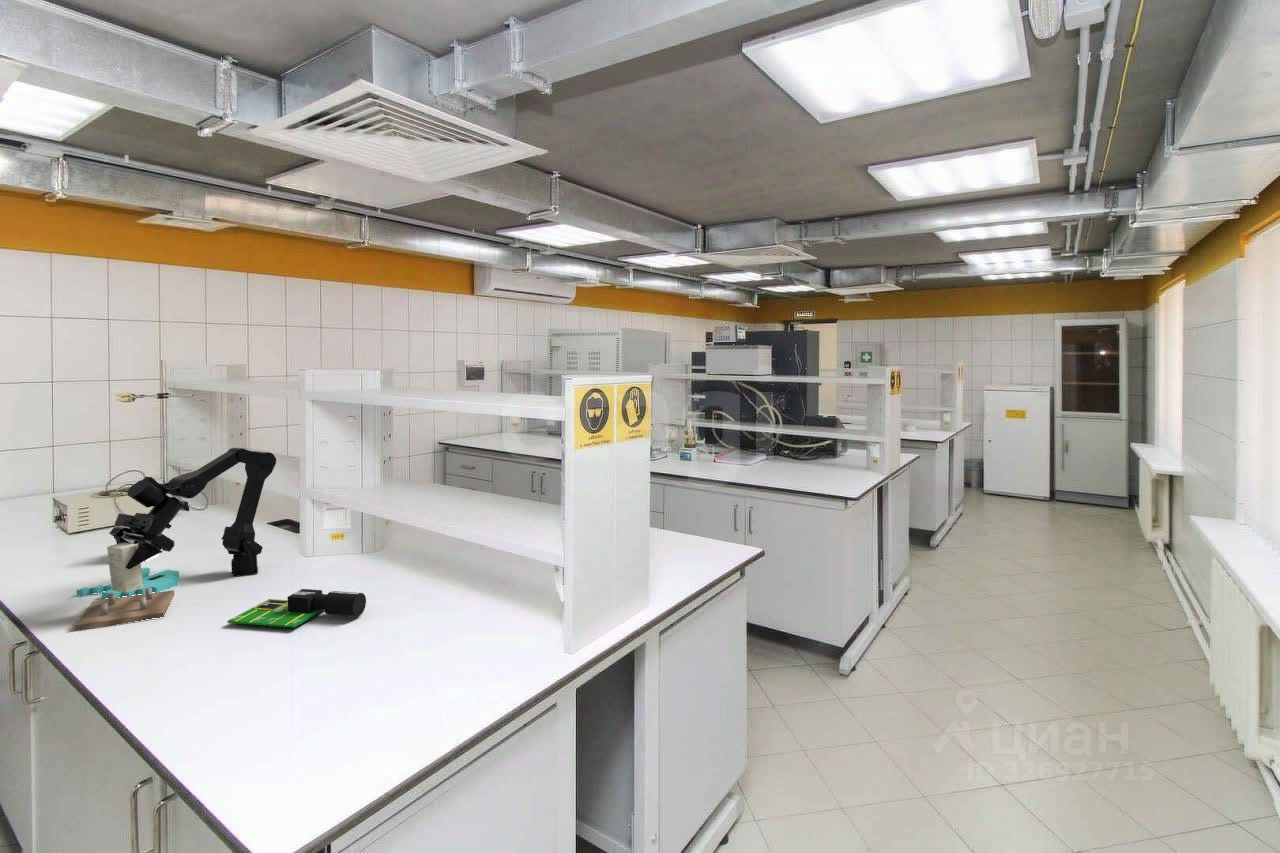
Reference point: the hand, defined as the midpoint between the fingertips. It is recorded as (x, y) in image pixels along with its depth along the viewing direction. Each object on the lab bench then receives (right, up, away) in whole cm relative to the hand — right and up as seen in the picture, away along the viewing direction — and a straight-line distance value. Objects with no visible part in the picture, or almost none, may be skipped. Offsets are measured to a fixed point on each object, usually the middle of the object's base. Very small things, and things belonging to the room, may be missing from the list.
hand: (119, 566), depth 167 cm
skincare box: (0, -7, +2) cm, 7 cm away
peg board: (0, -13, +2) cm, 13 cm away
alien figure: (-11, -11, +21) cm, 27 cm away
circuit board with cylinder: (+48, -14, 0) cm, 50 cm away
